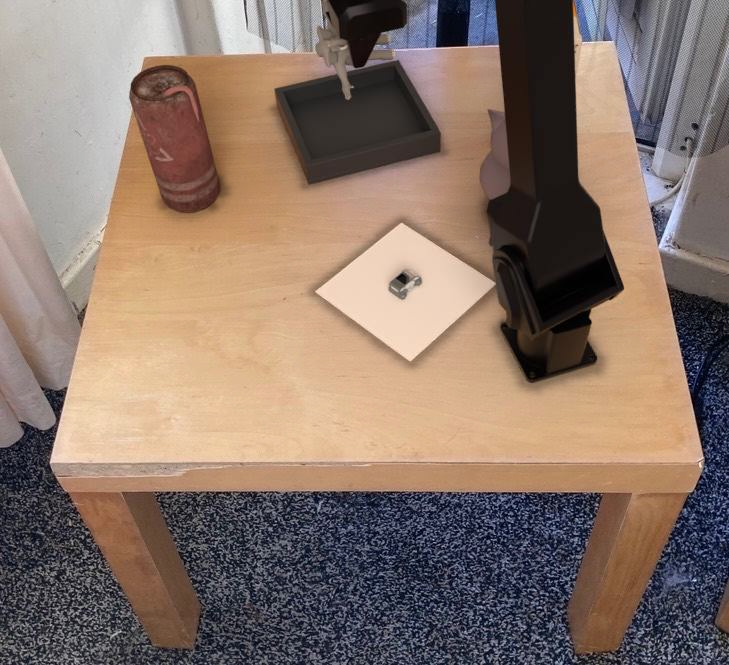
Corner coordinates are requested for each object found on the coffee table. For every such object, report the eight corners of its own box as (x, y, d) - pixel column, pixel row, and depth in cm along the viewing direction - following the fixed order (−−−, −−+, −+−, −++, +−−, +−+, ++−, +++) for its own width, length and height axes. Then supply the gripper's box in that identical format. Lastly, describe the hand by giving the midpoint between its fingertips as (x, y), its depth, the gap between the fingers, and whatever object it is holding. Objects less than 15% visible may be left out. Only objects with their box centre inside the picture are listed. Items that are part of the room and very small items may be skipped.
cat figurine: (480, 241, 82) (489, 145, 73) (472, 185, 87) (479, 88, 78) (569, 237, 82) (589, 139, 73) (556, 181, 87) (573, 83, 78)
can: (213, 218, 86) (183, 105, 75) (154, 212, 87) (116, 99, 76) (231, 178, 90) (204, 64, 79) (174, 172, 91) (140, 58, 80)
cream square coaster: (496, 283, 79) (497, 272, 78) (410, 361, 74) (410, 351, 73) (401, 222, 85) (401, 211, 83) (314, 291, 80) (313, 281, 78)
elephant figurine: (418, 85, 85) (344, 90, 80) (384, 105, 90) (313, 111, 85) (393, -13, 85) (318, -14, 80) (361, 12, 90) (288, 13, 85)
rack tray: (440, 151, 91) (441, 132, 89) (308, 185, 88) (306, 166, 86) (398, 78, 99) (398, 59, 97) (277, 107, 97) (274, 88, 94)
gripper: (223, -139, 77) (250, 17, 89) (272, -38, 66) (295, 124, 78) (341, -161, 79) (351, -6, 91) (408, -67, 68) (409, 96, 80)
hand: (349, 49), depth 85 cm, fingers closed on elephant figurine, 6 cm apart
